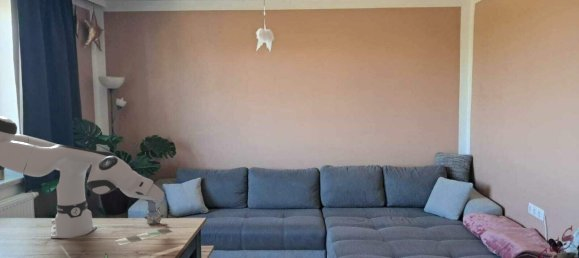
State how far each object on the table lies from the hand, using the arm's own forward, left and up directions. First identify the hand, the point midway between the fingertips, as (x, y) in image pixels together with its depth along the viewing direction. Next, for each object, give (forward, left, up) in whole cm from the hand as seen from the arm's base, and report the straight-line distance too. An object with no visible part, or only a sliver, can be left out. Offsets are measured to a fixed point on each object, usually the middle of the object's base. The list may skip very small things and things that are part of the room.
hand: (153, 201), depth 178 cm
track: (-1, -4, -16) cm, 16 cm away
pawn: (0, -1, -6) cm, 6 cm away
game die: (-15, +6, -16) cm, 23 cm away
